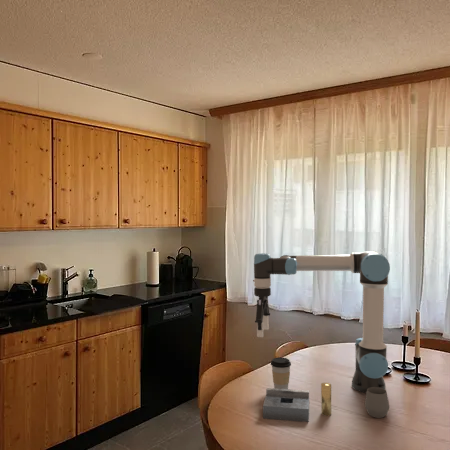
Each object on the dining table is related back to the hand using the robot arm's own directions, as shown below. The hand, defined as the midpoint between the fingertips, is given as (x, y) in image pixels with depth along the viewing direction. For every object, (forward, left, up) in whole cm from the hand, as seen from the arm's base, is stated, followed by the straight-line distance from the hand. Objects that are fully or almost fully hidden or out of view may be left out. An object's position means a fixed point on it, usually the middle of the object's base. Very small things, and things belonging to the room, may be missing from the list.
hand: (263, 333), depth 206 cm
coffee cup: (-8, -1, -28) cm, 29 cm away
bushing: (-28, +18, -27) cm, 43 cm away
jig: (-12, +20, -27) cm, 36 cm away
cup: (-48, +16, -28) cm, 57 cm away
